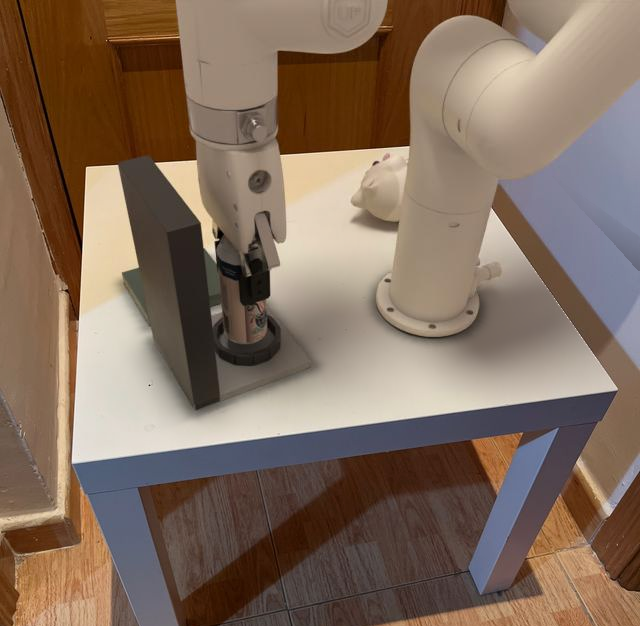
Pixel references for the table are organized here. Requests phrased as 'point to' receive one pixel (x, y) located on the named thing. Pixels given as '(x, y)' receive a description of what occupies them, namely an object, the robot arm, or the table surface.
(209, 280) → the dark green flat block
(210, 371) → the l-shaped can stand
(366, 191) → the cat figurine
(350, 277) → the table surface
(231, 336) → the beer can
